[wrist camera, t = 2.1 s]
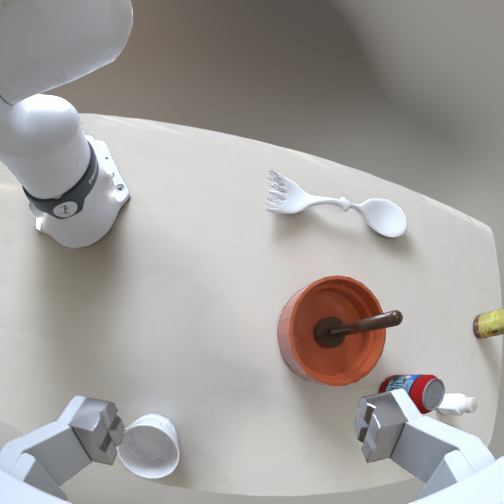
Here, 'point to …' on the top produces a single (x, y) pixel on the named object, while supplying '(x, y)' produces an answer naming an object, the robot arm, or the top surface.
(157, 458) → the white cup
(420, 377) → the beverage can
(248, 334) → the top surface
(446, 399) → the pepper shaker
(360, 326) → the brown rod on stand
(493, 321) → the sauce bottle
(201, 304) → the top surface
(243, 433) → the top surface
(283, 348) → the bowl
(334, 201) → the spoon
